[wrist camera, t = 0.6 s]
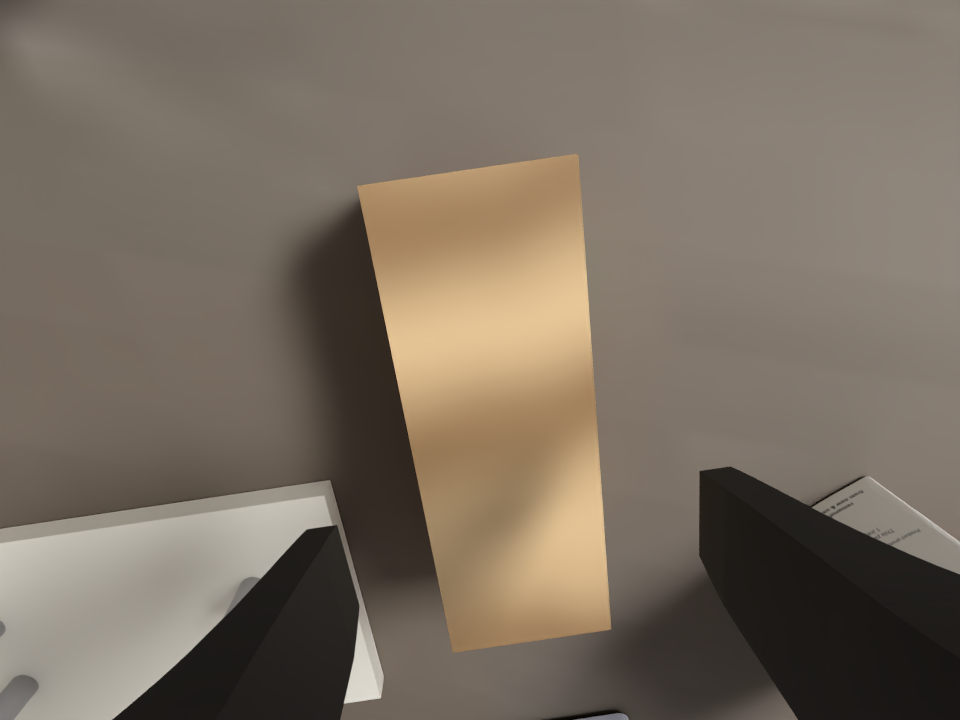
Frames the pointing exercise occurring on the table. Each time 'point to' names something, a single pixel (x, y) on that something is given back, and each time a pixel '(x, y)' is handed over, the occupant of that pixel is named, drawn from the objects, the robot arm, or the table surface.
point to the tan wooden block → (498, 392)
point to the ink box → (892, 522)
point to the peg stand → (144, 596)
